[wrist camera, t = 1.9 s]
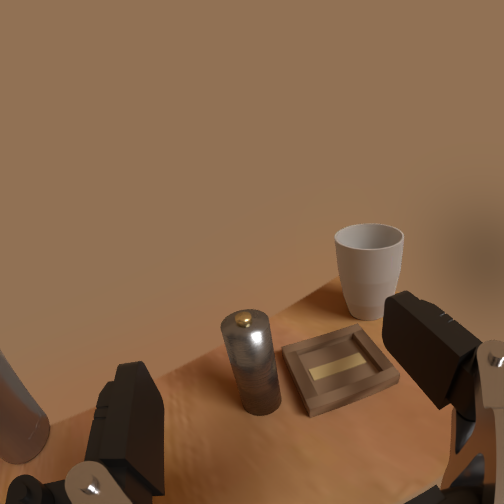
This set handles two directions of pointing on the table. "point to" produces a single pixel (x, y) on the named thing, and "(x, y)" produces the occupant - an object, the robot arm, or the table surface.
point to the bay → (338, 369)
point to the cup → (368, 267)
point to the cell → (252, 360)
